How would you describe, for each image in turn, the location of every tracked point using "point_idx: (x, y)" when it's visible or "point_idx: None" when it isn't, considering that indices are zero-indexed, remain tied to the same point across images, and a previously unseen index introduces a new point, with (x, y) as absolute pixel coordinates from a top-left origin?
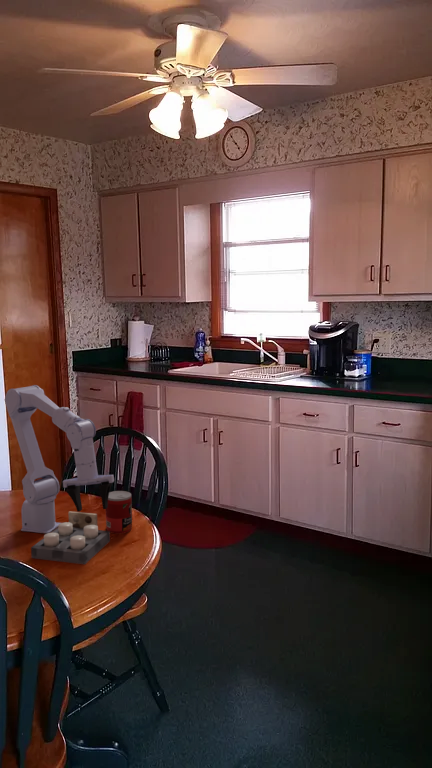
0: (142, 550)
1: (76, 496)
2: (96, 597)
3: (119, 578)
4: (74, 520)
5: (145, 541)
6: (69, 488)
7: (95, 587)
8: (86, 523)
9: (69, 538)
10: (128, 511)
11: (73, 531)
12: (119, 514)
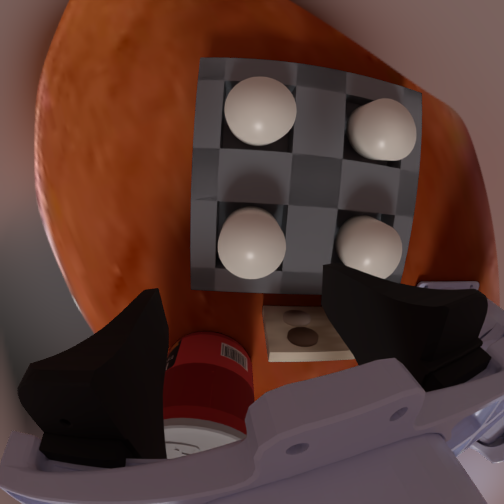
0: (70, 223)
1: (382, 313)
2: None
3: (78, 36)
4: None
5: (90, 289)
6: (467, 346)
7: None
8: (308, 328)
9: (327, 186)
10: None
11: None
12: (177, 375)
